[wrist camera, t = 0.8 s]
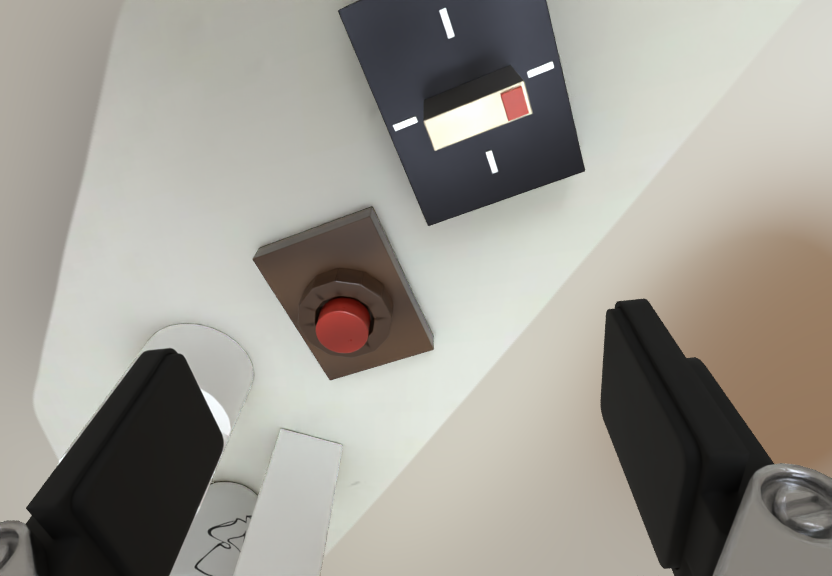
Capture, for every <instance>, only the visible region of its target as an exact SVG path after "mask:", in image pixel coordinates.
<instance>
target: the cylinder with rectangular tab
mask: <svg viewBox="0 0 832 576" xmlns="http://www.w3.org/2000/svg"><path fill="white" fill-rule="evenodd" d="M165 348H172V349H174V350H175V351H177V353H178V354H182V355H183V356H184V357H185V358H186V361H187V363H188V365H189V367H190V369H191V371H192V373H193V375H194V377H195V379H196V381H197V383H198V385H199V387H200V389H201V391H202V394H203V396H204V398H205V400H206V402H207V404H208V406H209V408H210V410H211V412H212V414H213V416H214V418H215V420H216V422H217V425H218V427H219V429H220V431H221V433H222V435H223V439H224V447H223V451H222V454H221V456H220V458H219V461H218V463H217V465H216V468H215V470H214V472H213V475H212V477H211V480H210V482H209V484H208V487H207V489H206V491H205V494H204V496H203V498H202V501H201V503H200V505H199V508H198V510H197V512H196V514H197V513H198V511H199V510H200V507H201V505H202V502H203V500H204V498H205V495H206V493H207V491H208V488H209V486H210V483H211V481H212V479H213V476H214V474H215V471H216V469H217V467H218V464H219V462H220V459H221V457H222V455H223V452H224V450H225V448H226V445H227V443H228V440H229V438H230V436H231V433H232V431H233V428H234V426H235V424H236V421H237V419H238V416H239V414H240V412H241V409H242V407H243V404H244V402H245V400H246V397H247V395H248V393H249V390H250V388H251V385H252V381H253V376H254V373H253V366H252V363H251V361H250V359H249V357H248V355H247V353H246V352H245V351H244V350H243V348H242V347H241V346H240V345H239V344H238V343H237V342H236V341H234V340H233V339H231V338H230V337H229V336H227V335H226V334H224V333H222V332H220V331H217V330H215V329H213V328H210V327H206V326H202V325H198V324H177V325H171V326H168V327H166V328H163V329H161V330H159V331H157V332H156V333H155V334H154V335H153V336H152V337H151V338H150V339H149V340H148V342H147V343H146V345H145V346H144V347H143V349H142V350H141V351H140V353H139V354H138V355H137V357H136V358H135V359H134V361H133V362H132V363H131V365H130V366H129V367H128V369H127V370H126V371H125V373H124V374H123V375H122V377H121V378H120V379H119V381H118V382H117V383H116V385H115V386H114V388H113V389H112V390H111V392H110V393H109V394H108V396H107V397H106V398H105V400H104V401H103V402H102V404H101V405H100V406H99V408H98V409H97V410H96V412H95V413H94V414H93V416H92V417H91V418H90V420H89V421H88V422H87V424H86V425H85V426H84V428H83V429H82V430H81V432H80V433H79V435H78V436H77V437H76V439H75V440H74V441H73V443H72V444H71V445H70V447H69V448H68V449H67V451H66V452H65V453H64V455H63V456H62V457H61V459H60V461H59V463H60V462H61V461H62V459H63V458H64V457H65V455H66V454H67V453H68V451H69V450H70V449H71V447H72V446H73V445H74V443H75V442H76V441H77V439H78V438H79V437H80V435H81V434H82V433H83V431H84V430H85V429H86V427H87V426H88V425H89V423H90V422H91V421H92V419H93V418H94V417H95V415H96V414H97V413H98V411H99V410H100V409H101V407H102V406H103V404H104V403H105V402H106V400H107V399H108V398H109V396H110V395H111V394H112V392H113V391H114V390H115V388H116V387H117V386H118V384H119V383H120V382H121V380H122V379H123V378H124V376H125V375H126V374H127V372H128V371H129V370H130V368H131V367H132V366H133V364H134V363H135V362H136V360H137V359H138V358H139V356H140V355H141V354H142V353H143V352H144V351H147V350H156V349H165ZM59 463H58V465H59ZM195 516H196V515H195Z"/></svg>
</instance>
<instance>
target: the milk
mask: <svg viewBox="0 0 832 576" xmlns="http://www.w3.org/2000/svg"><path fill="white" fill-rule="evenodd" d="M342 448H343V445H341V444H338V443H334V442H330V441H326V440H323V439H319V438H315V437H311V436H308V435H304V434H300V433H296V432H293V431H289V430H285V429H281V430H280V432H279V435H278V438H277V441H276V444H275V447H274V450H273V453H272V456H271V459H270V461H269V464H268V467H267V470H266V473H265V477H264V480H263V483H262V486H261V489H260V492H259V495H258V499H257V502H256V505H255V508H254V511H253V514H252V517H251V521H250V524H249V527H248V530H247V533H246V536H245V539H244V543H243V546H242V549H241V552H240V555H239V558H238V562H237V565H236V568H235V571H234V574H233V576H320V574H321V568H322V563H323V557H324V551H325V545H326V540H327V534H328V528H329V523H330V517H331V511H332V505H333V500H334V494H335V488H336V483H337V477H338V471H339V465H340V460H341V454H342Z"/></svg>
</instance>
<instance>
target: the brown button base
mask: <svg viewBox="0 0 832 576" xmlns="http://www.w3.org/2000/svg"><path fill="white" fill-rule="evenodd" d="M253 261H254V262H255V264H256V266H257V267H258V269H259V270H260V272H261V273H262V275H263V276H264V278H265V280H266V281H267V283H268V284H269V286H270V287H271V289H272V291H273V292H274V294H275V295H276V297H277V298H278V300H279V301H280V303H281V305H282V306H283V308H284V309H285V311H286V312H287V314H288V316H289V317H290V319H291V320H292V322H293V323H294V325H295V327H296V328H297V330H298V331H299V333H300V334H301V336H302V337H303V339H304V341H305V342H306V344H307V345H308V347H309V348H310V350H311V352H312V353H313V355H314V356H315V358H316V359H317V361H318V362H319V364H320V366H321V367H322V369H323V370H324V372H325V373H326V375H327V377H328V378H329V380H333V379H336V378H340V377H343V376H347V375H350V374H353V373H357V372H360V371H363V370H367V369H370V368H373V367H377V366H380V365H384V364H387V363H390V362H394V361H397V360H400V359H404V358H407V357H411V356H414V355H417V354H421V353H424V352H427V351H431V350H433V349H434V336H433V334H432V332H431V330H430V328H429V326H428V324H427V321H426V319H425V317H424V315H423V313H422V311H421V309H420V307H419V304H418V302H417V300H416V298H415V296H414V294H413V292H412V290H411V287H410V285H409V283H408V281H407V279H406V277H405V275H404V273H403V270H402V268H401V266H400V264H399V262H398V260H397V258H396V256H395V253H394V251H393V249H392V247H391V245H390V243H389V241H388V239H387V236H386V234H385V232H384V230H383V228H382V226H381V224H380V222H379V219H378V217H377V215H376V213H375V211H374V209H373V207H369V208H367V209H364V210H361V211H359V212H356V213H353V214H351V215H348V216H345V217H342V218H340V219H337V220H334V221H332V222H329V223H326V224H323V225H321V226H318V227H315V228H313V229H310V230H307V231H304V232H302V233H299V234H296V235H294V236H291V237H288V238H285V239H283V240H280V241H277V242H275V243H272V244H269V245H266V246H264V247H261V248H259V249H258V251H257V253H256V254H255V256H254V258H253ZM340 297H346V298H351V299H354V300H357V301H359V302H360V303H362V304H363V305H364V306H365V307H366V308H367V310H368V312H369V314H370V319H371V321H370V328H369V334H368V339H367V341H366V343H365V344H364V346H362V347H361V348H360V349H358V350H357V351H354V352H351V353H338V352H334V351H331V350H329V349H327V348H326V347H324V346H323V345H322V344H321V343H320V341H319V340H318V338H317V335H316V324H317V321H318V318H319V315H320V311H321V309H322V307H323V306H324V305H325V304H326V303H327V302H328V301H330V300H332V299H335V298H340Z"/></svg>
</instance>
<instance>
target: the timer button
mask: <svg viewBox="0 0 832 576" xmlns="http://www.w3.org/2000/svg"><path fill="white" fill-rule="evenodd" d="M370 321H371V319H370V314H369V312H368V310H367V308H366V307H365V306H364V305H363V304H362V303H360V302H359V301H357V300H354V299H351V298H346V297H340V298H335V299H332V300H330V301H328V302H327V303H326V304H325V305H324V306H323V307H322V309H321V311H320V315H319V318H318V321H317V324H316V335H317V338H318V340H319V341H320V343H321V344H322V345H323V346H324V347H326V348H327V349H329V350H331V351H334V352H338V353H351V352H354V351H357V350H358V349H360V348H361V347H362V346H364V344H365V343H366V341H367V339H368V334H369V328H370Z"/></svg>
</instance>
